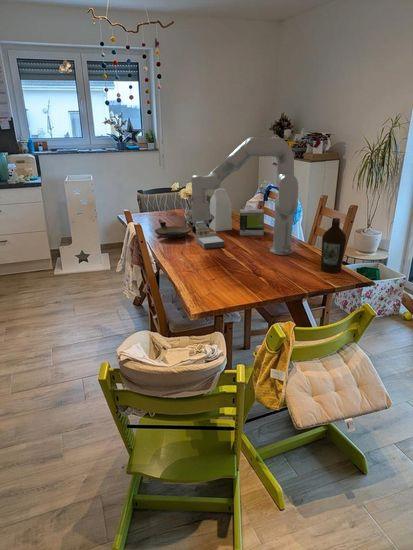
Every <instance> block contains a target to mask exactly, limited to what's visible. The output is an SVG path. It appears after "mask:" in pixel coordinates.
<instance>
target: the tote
mask: <svg viewBox="0 0 413 550" xmlns="http://www.w3.org/2000/svg"><path fill="white" fill-rule="evenodd" d="M195 226H196V227H197V228H198V229H199V228H206V221H200V222H196V224H195Z"/></svg>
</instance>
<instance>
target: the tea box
mask: <svg viewBox="0 0 413 550" xmlns="http://www.w3.org/2000/svg"><path fill="white" fill-rule="evenodd" d="M264 225H265V210H264V209H262V208H257V209H256V208H255V209H251V208H248V209H247V208H245V209H244V208H242V209H239V235H240V236H264V231H265V229H264V228H265V227H264Z"/></svg>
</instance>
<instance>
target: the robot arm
mask: <svg viewBox="0 0 413 550" xmlns="http://www.w3.org/2000/svg"><path fill="white" fill-rule="evenodd" d="M253 157H275V159H276V181H275V182H276V187H277V188H278V195H277V196H276V197H275V201H274V221H273V222H274V225H273V226H274V227H273V236H272V237H273V239H272V240H273V241H272V247H270V248H269V252H270V253H271V254H273V255H279V256H280V255H281V256H286V255H287V256H288V255H291V254H293V253H294V248H292V233H293V222H294V214H295V213H296V211H297V209H298V202H299V182H298V179H297V177H296V176H295V159H294V158H295V157H294V152H293V150H292V148H291V146H290V145H289V144H288V142H286V141H285V140H284V139H283V137H282V138H281V137H279V136H272V137H256V136H250V137H248V138H246V139H245V140H244V141H243V142H242V143H241V144H240V145H238V147H237V148H235V150H234V151H232V152H231V153H230V154H229V155H227V157H226V158H225V159H224V160H222V161H221V163H219V164H218V165H217V166H216V167H215V168H214V169H213V170H212V171H211V172H210V173H209V174H208V175H204V174H194V175H192V176H191V179H190V180H191V197H189V201H190V202H191V203H190V209H189V210H190V213H189V215H188V217H186V219H185V221H186V222H187V223H188V224H189V225H190V226H191V232H192V233H193V234H194V235H195V234H196V227H195V224H196V222H200V221H203V222H205V223H206V226H207V227H208V228H209V225H210V223H211V222H212V220H213V219H214V218H215V217H214V216H213V215H212V214H211V213H210V207H209V202H208V201H207V195H208V193H207V190H210V191H215V190H216V189H220V187H221V185H222V182H223V181H224V180H225V179H226V178H228V177H229V176H230V175H231V174H233V173H235V172H237V171H239V170H240V169H242V168H243V166H245V165H246V164H247V163H248V162H249V161H250V160H251V159H253ZM209 229H210V228H209Z"/></svg>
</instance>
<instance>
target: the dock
mask: <svg viewBox="0 0 413 550" xmlns="http://www.w3.org/2000/svg"><path fill="white" fill-rule="evenodd" d="M196 243H197V244H198V245H200V246H201V247H202V248H203V249H215V248H223V247H225V240H223V239H221V238H220V237H219V236H218V235H217V231H210V236H207V235H206V234H205V236H202V235H200V237H197V236H196Z"/></svg>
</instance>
